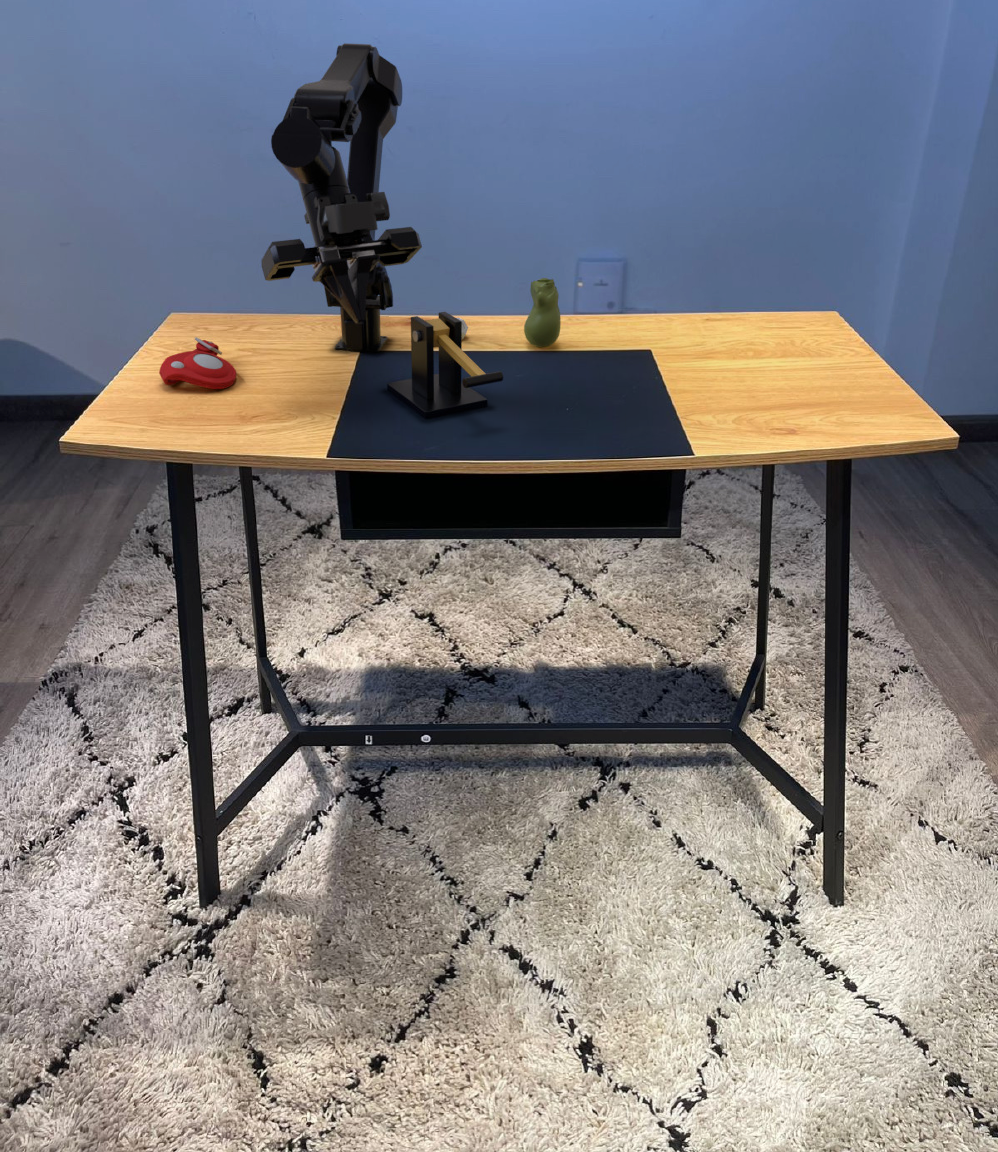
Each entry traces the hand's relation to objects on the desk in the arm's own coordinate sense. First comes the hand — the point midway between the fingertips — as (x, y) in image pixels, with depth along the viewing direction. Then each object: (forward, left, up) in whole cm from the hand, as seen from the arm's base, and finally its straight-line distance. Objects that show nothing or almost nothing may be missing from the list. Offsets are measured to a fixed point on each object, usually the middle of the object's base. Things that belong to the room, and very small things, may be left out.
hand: (360, 322), depth 123 cm
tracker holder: (-7, -24, -12) cm, 28 cm away
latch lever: (-2, +11, -5) cm, 13 cm away
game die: (-30, +6, -12) cm, 33 cm away
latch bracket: (-7, +8, -12) cm, 16 cm away
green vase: (-30, +19, -12) cm, 38 cm away
